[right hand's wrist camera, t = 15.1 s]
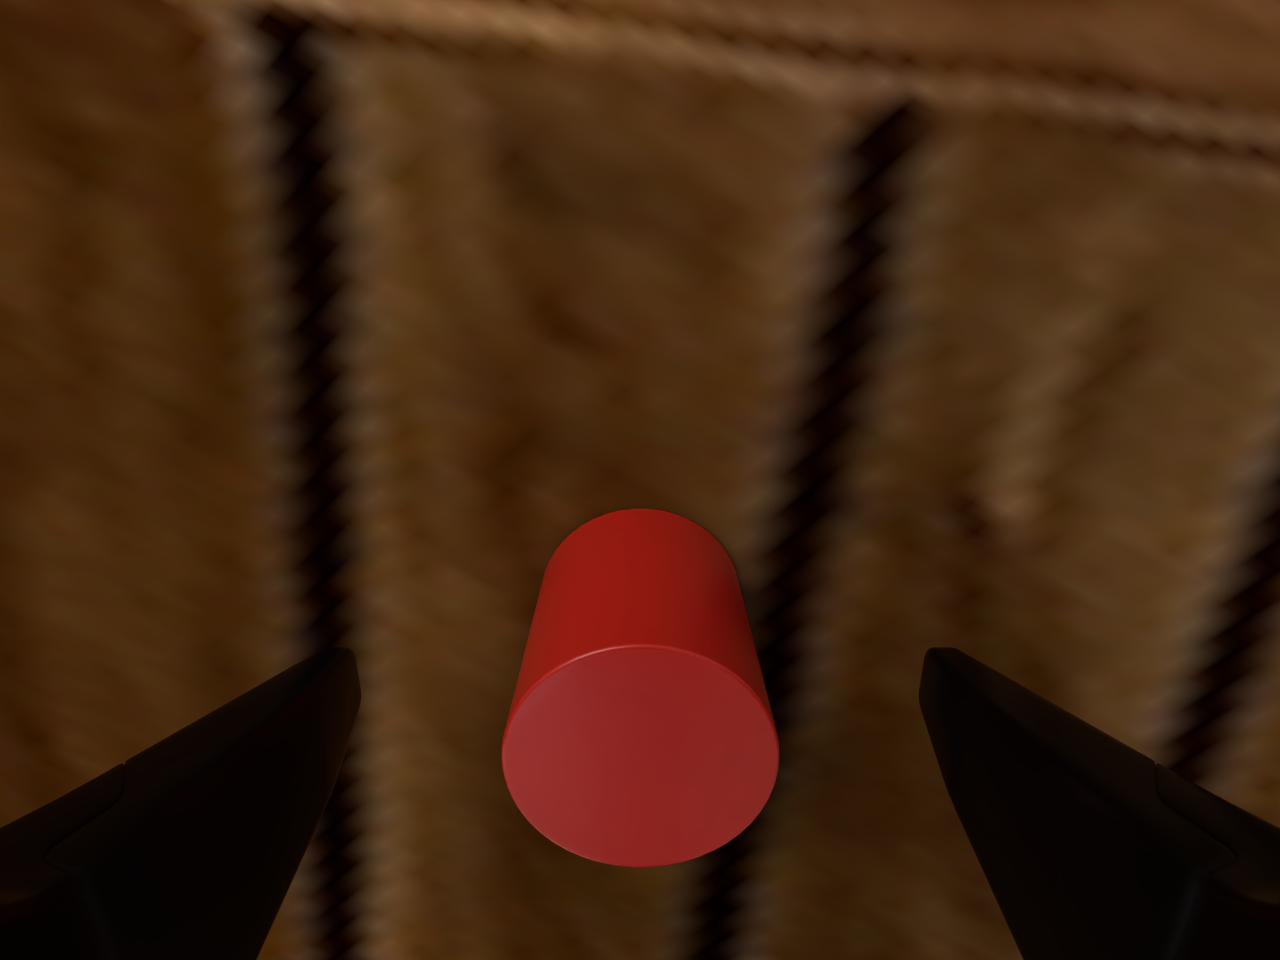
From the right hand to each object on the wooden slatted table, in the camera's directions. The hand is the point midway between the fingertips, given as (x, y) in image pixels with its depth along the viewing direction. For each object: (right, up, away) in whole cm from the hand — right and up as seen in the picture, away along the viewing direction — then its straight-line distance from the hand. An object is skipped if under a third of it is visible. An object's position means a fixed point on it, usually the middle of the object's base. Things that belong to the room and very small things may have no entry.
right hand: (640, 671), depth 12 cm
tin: (0, +1, +2) cm, 2 cm away
